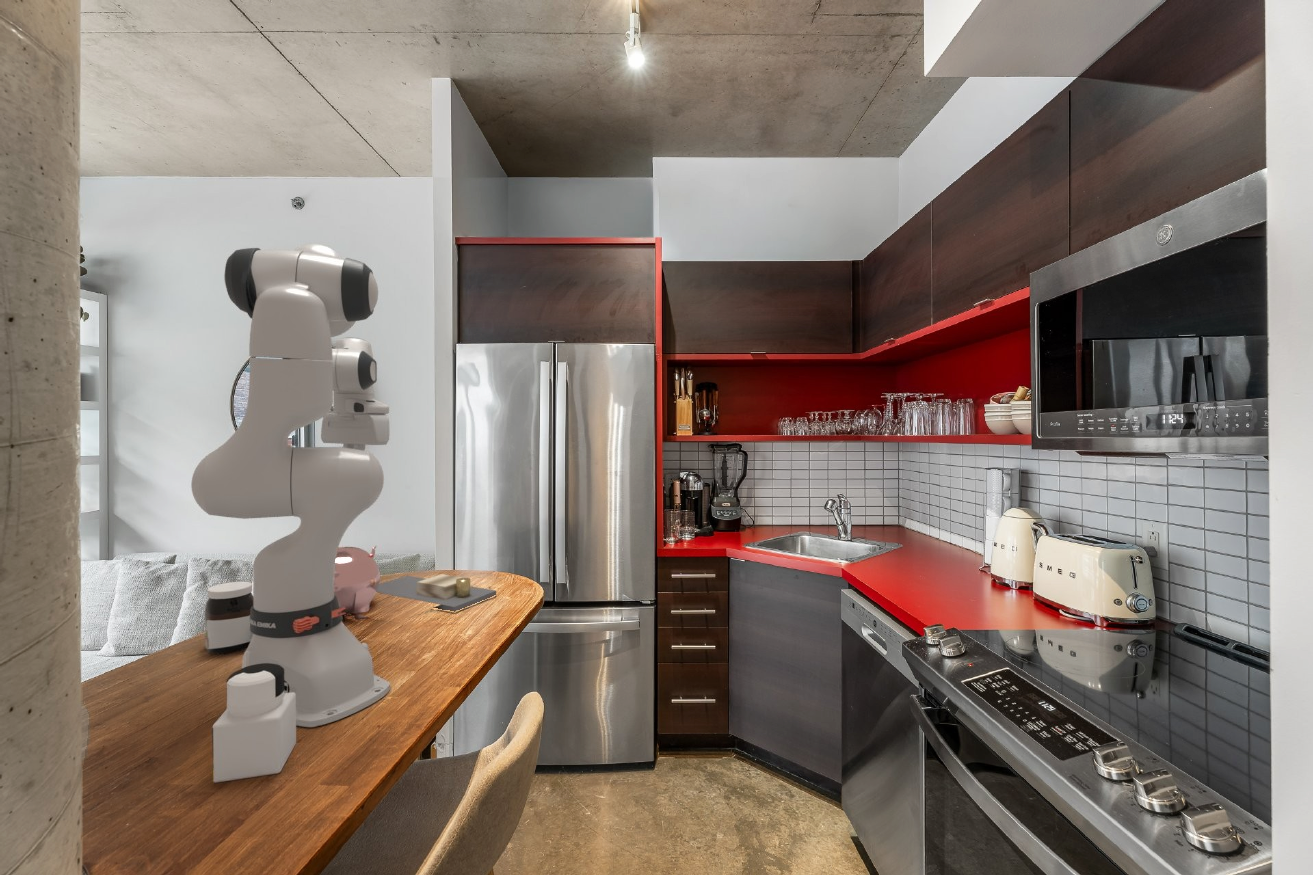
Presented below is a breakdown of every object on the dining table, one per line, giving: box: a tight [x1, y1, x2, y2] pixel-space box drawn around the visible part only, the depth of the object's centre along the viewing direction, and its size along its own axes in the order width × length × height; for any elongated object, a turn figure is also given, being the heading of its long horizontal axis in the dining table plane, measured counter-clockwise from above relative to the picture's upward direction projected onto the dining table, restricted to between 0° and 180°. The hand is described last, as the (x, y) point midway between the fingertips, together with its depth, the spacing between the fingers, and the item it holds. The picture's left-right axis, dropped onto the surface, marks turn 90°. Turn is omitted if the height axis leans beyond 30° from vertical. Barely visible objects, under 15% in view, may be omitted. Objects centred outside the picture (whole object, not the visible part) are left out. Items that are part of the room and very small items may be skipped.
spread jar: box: [204, 581, 253, 655], centre depth 111 cm, size 12×11×12 cm
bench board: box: [376, 575, 497, 612], centre depth 144 cm, size 30×14×2 cm, turn 65°
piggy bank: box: [334, 545, 381, 621], centre depth 129 cm, size 15×18×16 cm
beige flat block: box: [417, 573, 465, 600], centre depth 142 cm, size 9×8×3 cm
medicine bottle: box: [211, 663, 297, 783], centre depth 74 cm, size 7×7×12 cm
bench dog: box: [456, 577, 471, 598], centre depth 139 cm, size 3×3×4 cm
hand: (354, 462), depth 143 cm, fingers closed
